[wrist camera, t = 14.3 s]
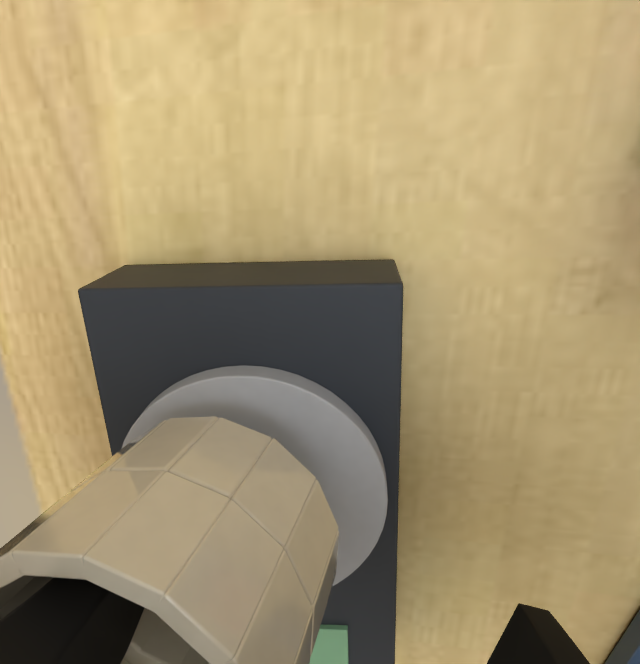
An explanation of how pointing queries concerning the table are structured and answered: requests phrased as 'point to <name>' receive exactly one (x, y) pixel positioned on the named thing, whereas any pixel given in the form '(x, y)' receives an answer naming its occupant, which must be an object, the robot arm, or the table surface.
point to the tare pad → (628, 645)
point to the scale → (276, 395)
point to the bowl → (193, 545)
